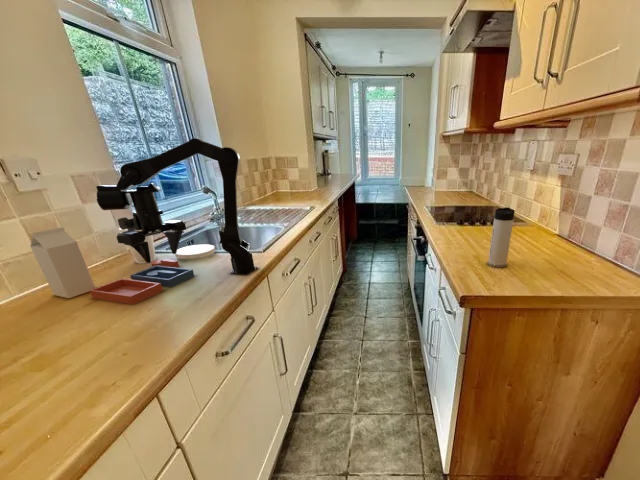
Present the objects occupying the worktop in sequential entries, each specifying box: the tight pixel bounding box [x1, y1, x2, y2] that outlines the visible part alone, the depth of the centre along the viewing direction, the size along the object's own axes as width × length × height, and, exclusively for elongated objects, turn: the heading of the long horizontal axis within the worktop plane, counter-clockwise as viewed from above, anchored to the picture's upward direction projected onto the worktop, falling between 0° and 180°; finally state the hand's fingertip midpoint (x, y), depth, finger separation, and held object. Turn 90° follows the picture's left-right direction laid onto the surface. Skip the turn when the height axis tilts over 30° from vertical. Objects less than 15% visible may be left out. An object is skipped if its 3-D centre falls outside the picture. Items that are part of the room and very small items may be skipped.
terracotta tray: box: [89, 277, 164, 305], centre depth 93 cm, size 15×9×2 cm, turn 75°
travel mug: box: [487, 206, 516, 269], centre depth 111 cm, size 6×7×20 cm
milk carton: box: [29, 226, 97, 299], centre depth 91 cm, size 7×7×19 cm
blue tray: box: [129, 265, 195, 288], centre depth 104 cm, size 15×9×2 cm, turn 75°
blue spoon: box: [147, 270, 178, 279], centre depth 103 cm, size 11×5×2 cm, turn 75°
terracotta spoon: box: [150, 258, 181, 268], centre depth 115 cm, size 11×5×2 cm, turn 75°
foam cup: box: [118, 227, 157, 264], centre depth 119 cm, size 10×9×13 cm
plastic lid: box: [174, 243, 216, 260], centre depth 126 cm, size 14×14×2 cm
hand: (162, 258), depth 100 cm, fingers open, 9 cm apart
